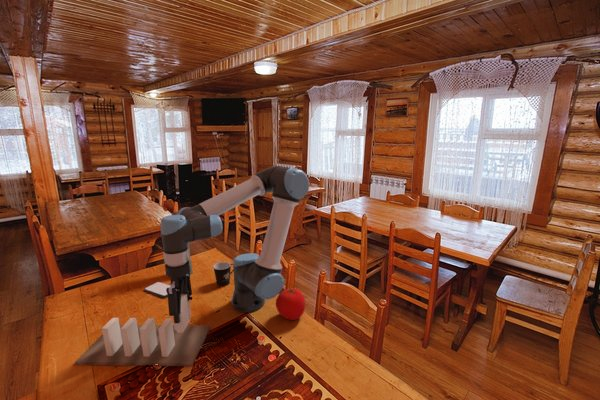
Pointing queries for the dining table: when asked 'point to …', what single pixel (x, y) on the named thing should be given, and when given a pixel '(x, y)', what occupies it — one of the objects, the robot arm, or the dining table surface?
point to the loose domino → (184, 311)
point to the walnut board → (179, 356)
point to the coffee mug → (222, 273)
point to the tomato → (290, 304)
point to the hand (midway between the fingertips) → (183, 323)
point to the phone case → (158, 289)
